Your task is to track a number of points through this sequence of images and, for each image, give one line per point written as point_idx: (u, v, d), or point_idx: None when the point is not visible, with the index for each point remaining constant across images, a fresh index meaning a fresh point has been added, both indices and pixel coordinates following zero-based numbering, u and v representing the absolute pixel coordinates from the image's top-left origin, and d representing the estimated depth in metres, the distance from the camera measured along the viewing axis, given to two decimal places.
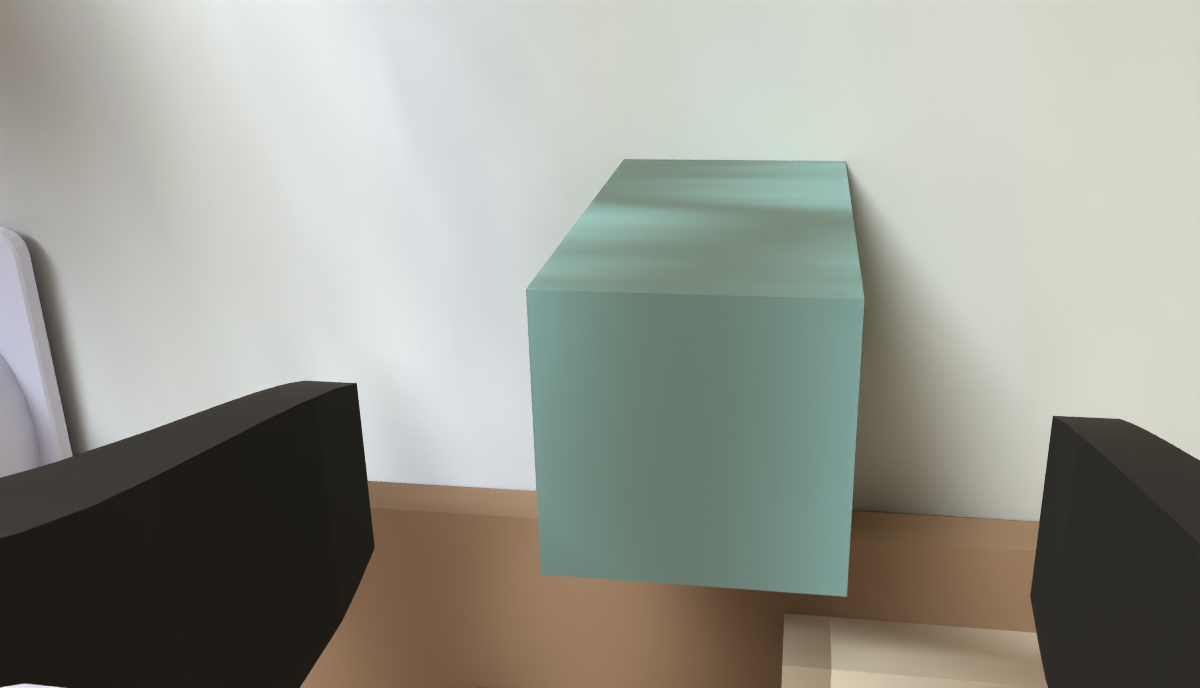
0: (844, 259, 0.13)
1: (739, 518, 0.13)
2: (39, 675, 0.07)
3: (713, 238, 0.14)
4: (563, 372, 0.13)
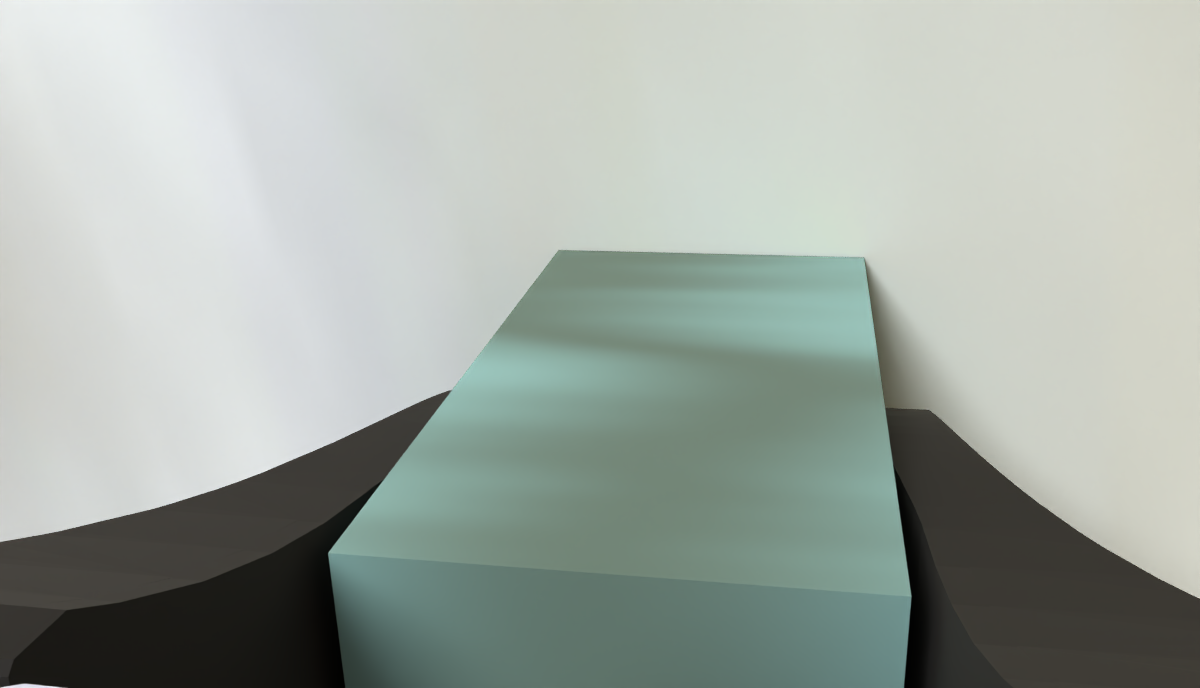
0: (871, 482, 0.08)
1: None
2: None
3: (664, 420, 0.09)
4: (398, 683, 0.07)
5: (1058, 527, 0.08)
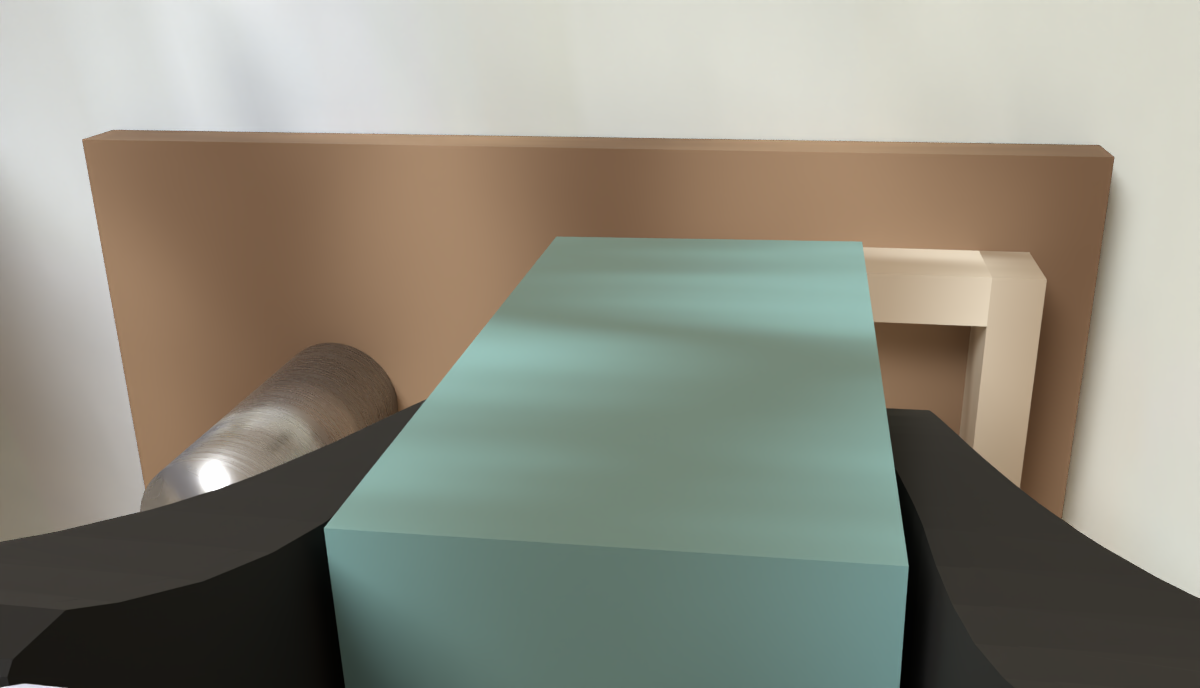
0: (868, 455, 0.08)
1: None
2: None
3: (660, 398, 0.09)
4: (394, 659, 0.07)
5: (1059, 527, 0.08)
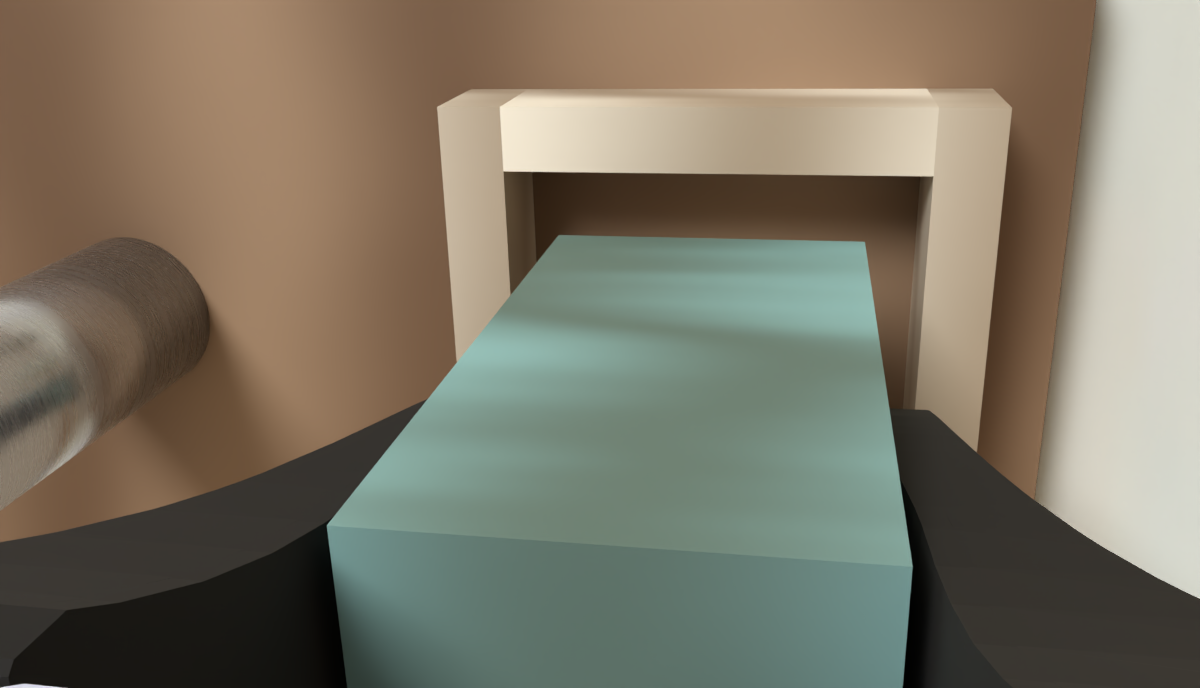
0: (871, 457, 0.08)
1: None
2: None
3: (663, 397, 0.09)
4: (397, 657, 0.07)
5: (1058, 527, 0.08)
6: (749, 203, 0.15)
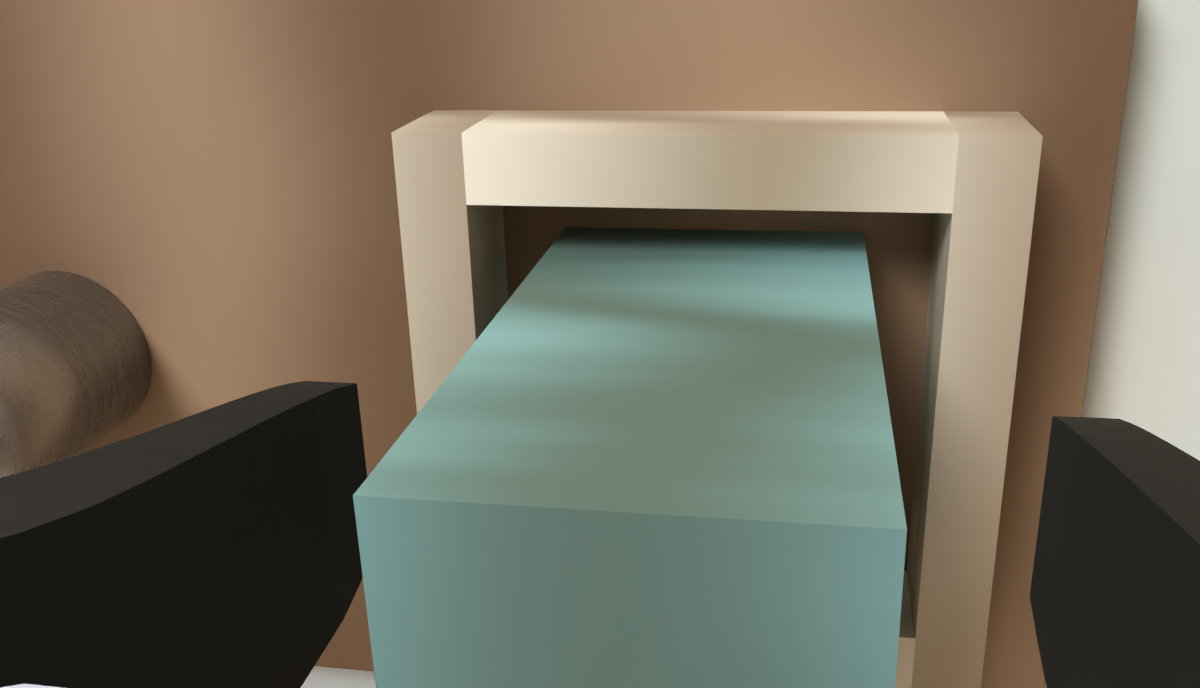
0: (869, 430, 0.08)
1: None
2: (40, 675, 0.07)
3: (670, 377, 0.09)
4: (419, 621, 0.08)
5: None
6: None
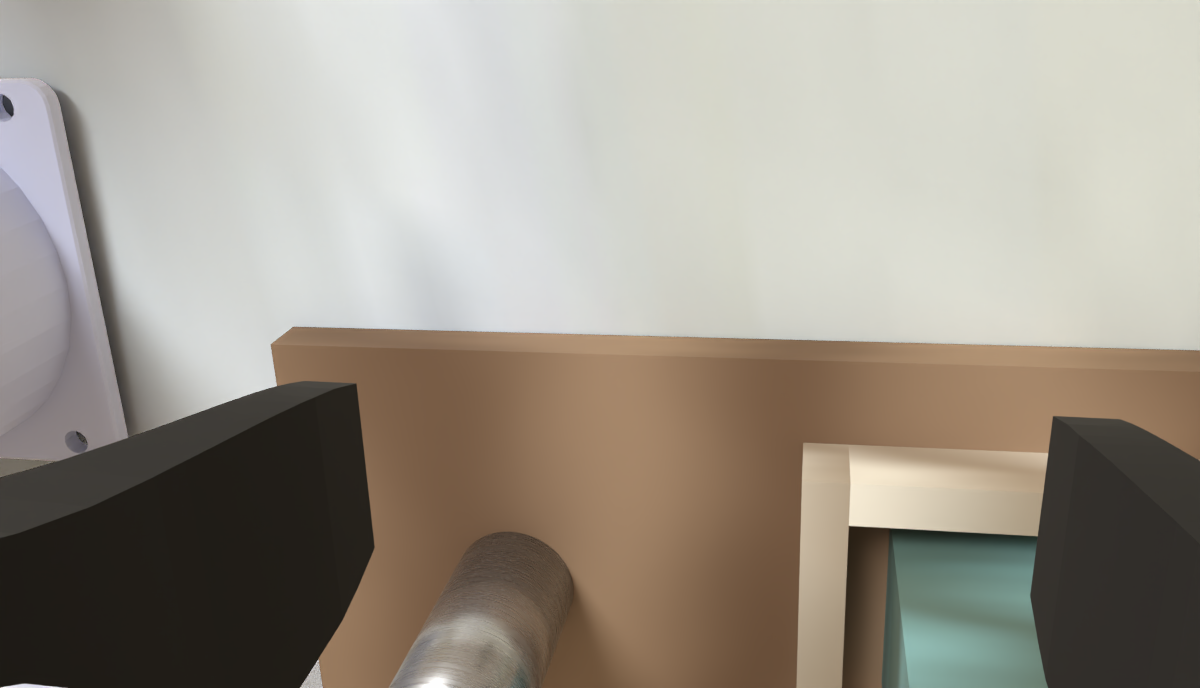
0: None
1: None
2: (39, 675, 0.07)
3: None
4: None
5: None
6: None
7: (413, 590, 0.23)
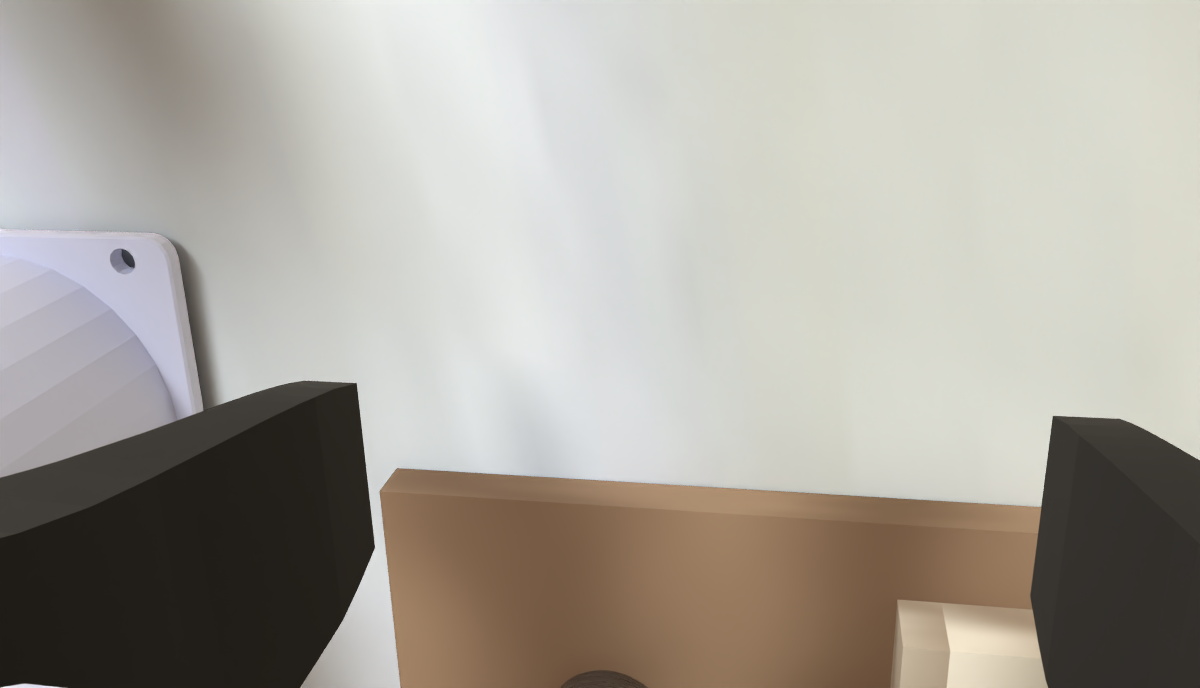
0: None
1: None
2: (39, 675, 0.07)
3: None
4: None
5: None
6: None
7: None
